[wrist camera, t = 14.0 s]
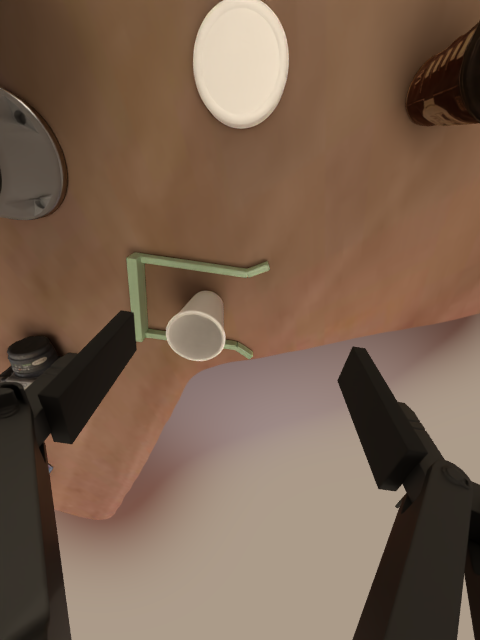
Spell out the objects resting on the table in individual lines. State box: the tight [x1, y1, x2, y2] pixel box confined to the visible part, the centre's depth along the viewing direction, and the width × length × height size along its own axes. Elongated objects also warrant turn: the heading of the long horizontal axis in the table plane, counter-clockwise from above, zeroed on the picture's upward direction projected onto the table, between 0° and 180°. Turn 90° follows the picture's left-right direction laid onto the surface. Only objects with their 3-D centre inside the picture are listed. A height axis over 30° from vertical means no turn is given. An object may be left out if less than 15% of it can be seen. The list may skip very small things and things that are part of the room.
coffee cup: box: [406, 21, 480, 126], centre depth 24 cm, size 9×8×13 cm
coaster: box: [193, 0, 289, 129], centre depth 28 cm, size 10×10×4 cm
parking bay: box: [126, 252, 270, 359], centre depth 43 cm, size 21×18×3 cm
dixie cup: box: [166, 291, 225, 361], centre depth 40 cm, size 8×8×10 cm
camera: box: [0, 336, 60, 390], centre depth 48 cm, size 16×10×10 cm, turn 87°
